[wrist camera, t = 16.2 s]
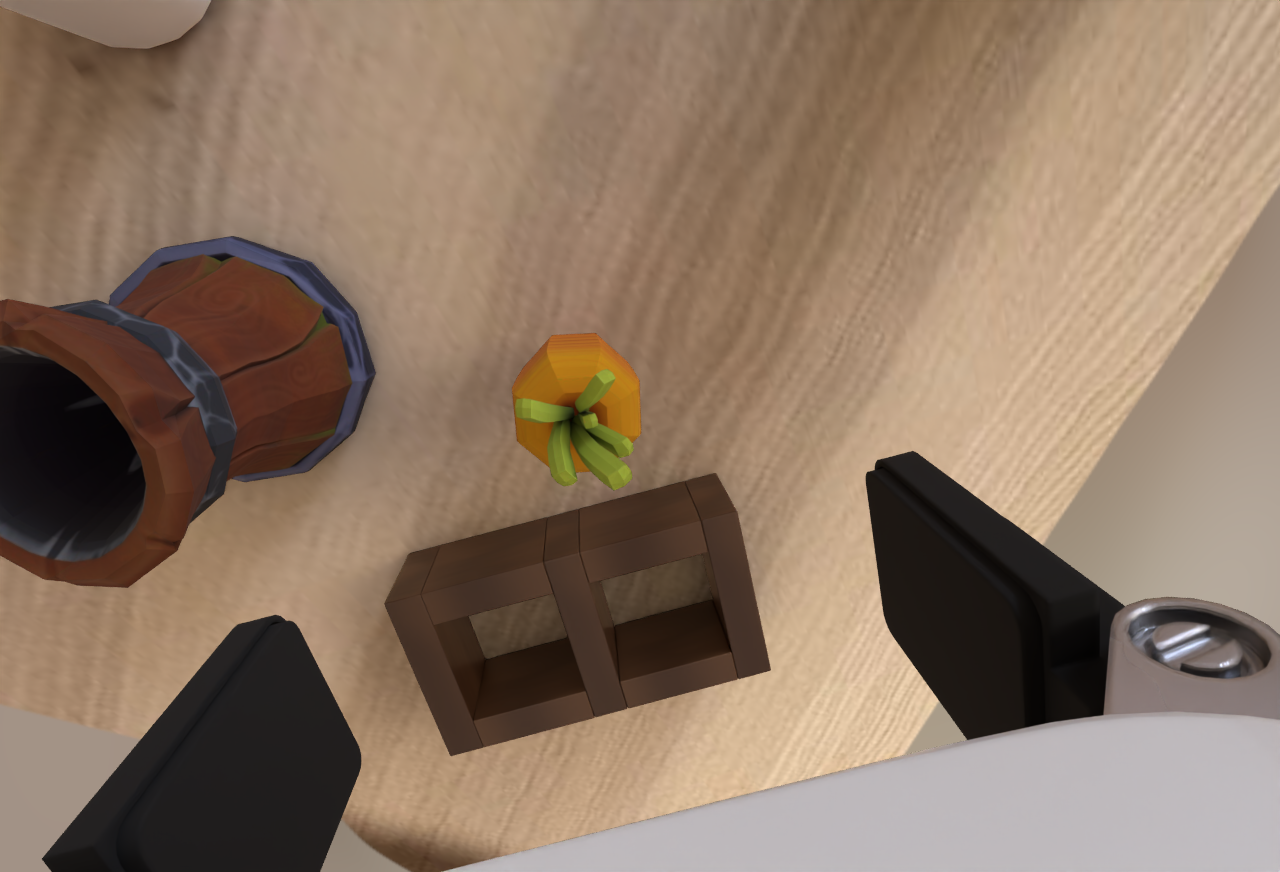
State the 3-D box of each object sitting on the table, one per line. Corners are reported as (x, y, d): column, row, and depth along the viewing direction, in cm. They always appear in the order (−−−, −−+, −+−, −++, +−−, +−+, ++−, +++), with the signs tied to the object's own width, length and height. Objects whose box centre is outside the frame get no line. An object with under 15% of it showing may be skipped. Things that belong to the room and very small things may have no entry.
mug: (-3, 447, 32) (-460, 629, 18) (-49, 199, 29) (-659, 182, 14) (378, 477, 34) (241, 659, 20) (379, 251, 31) (214, 279, 17)
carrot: (509, 333, 33) (461, 418, 18) (599, 291, 32) (620, 343, 18) (554, 419, 34) (541, 558, 20) (640, 379, 34) (689, 491, 20)
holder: (715, 472, 36) (737, 510, 31) (747, 616, 39) (771, 671, 35) (408, 553, 36) (383, 604, 31) (465, 691, 39) (450, 756, 34)
